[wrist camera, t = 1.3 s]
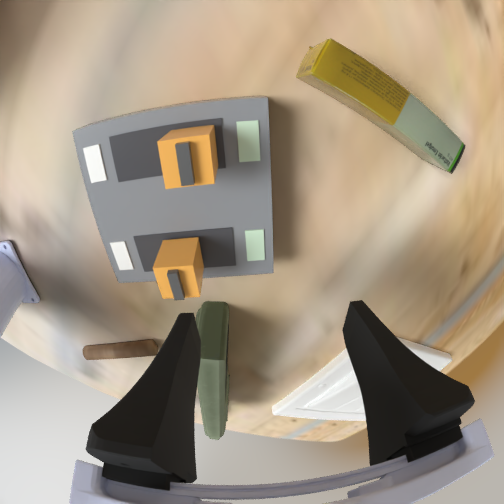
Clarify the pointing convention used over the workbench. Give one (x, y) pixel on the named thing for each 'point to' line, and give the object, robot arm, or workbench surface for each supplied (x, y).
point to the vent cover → (342, 388)
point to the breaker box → (182, 188)
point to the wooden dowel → (121, 350)
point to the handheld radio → (213, 367)
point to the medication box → (381, 102)
